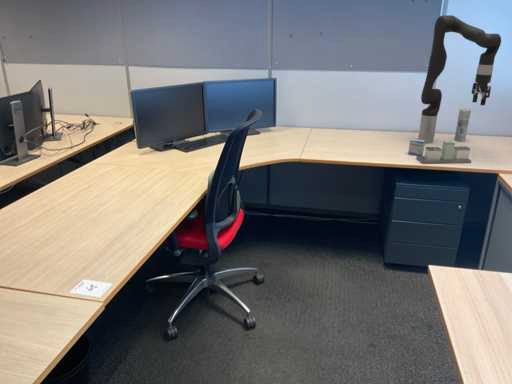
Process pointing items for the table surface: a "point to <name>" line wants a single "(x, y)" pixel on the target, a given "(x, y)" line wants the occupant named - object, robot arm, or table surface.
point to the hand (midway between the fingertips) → (478, 103)
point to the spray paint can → (462, 125)
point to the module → (447, 150)
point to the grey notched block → (434, 157)
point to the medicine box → (416, 147)
